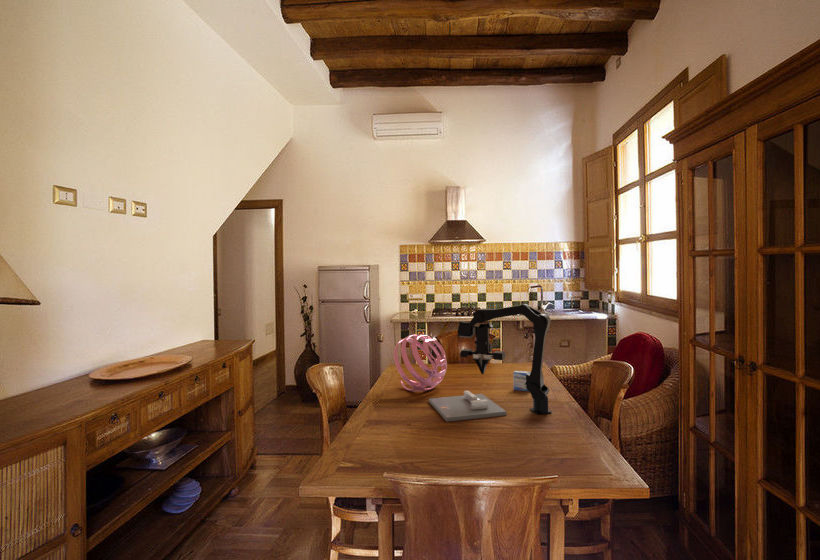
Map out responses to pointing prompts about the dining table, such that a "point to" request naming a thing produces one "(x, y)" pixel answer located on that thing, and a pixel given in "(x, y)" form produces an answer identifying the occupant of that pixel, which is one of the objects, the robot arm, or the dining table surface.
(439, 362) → the pink spiral sphere sculpture
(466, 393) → the latch key
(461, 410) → the latch plate
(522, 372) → the medicine box
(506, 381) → the dining table surface
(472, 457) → the dining table surface
